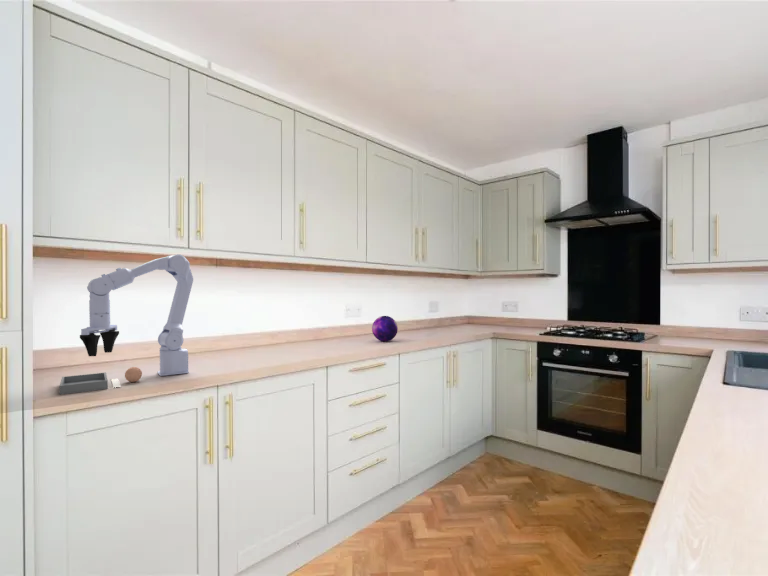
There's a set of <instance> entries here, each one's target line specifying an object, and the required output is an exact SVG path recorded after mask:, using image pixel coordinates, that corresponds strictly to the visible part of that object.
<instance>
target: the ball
mask: <svg viewBox="0 0 768 576" xmlns="http://www.w3.org/2000/svg"><path fill="white" fill-rule="evenodd" d="M142 376H143V371H142V370H141V368H139V367H138V366H132V367H130V368H128V369H127V370H125V373H124V378H125V380H127V381H128V382H129V383H130V382H131V383H135V382H138V381H140V379H141V378H142Z"/></svg>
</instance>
